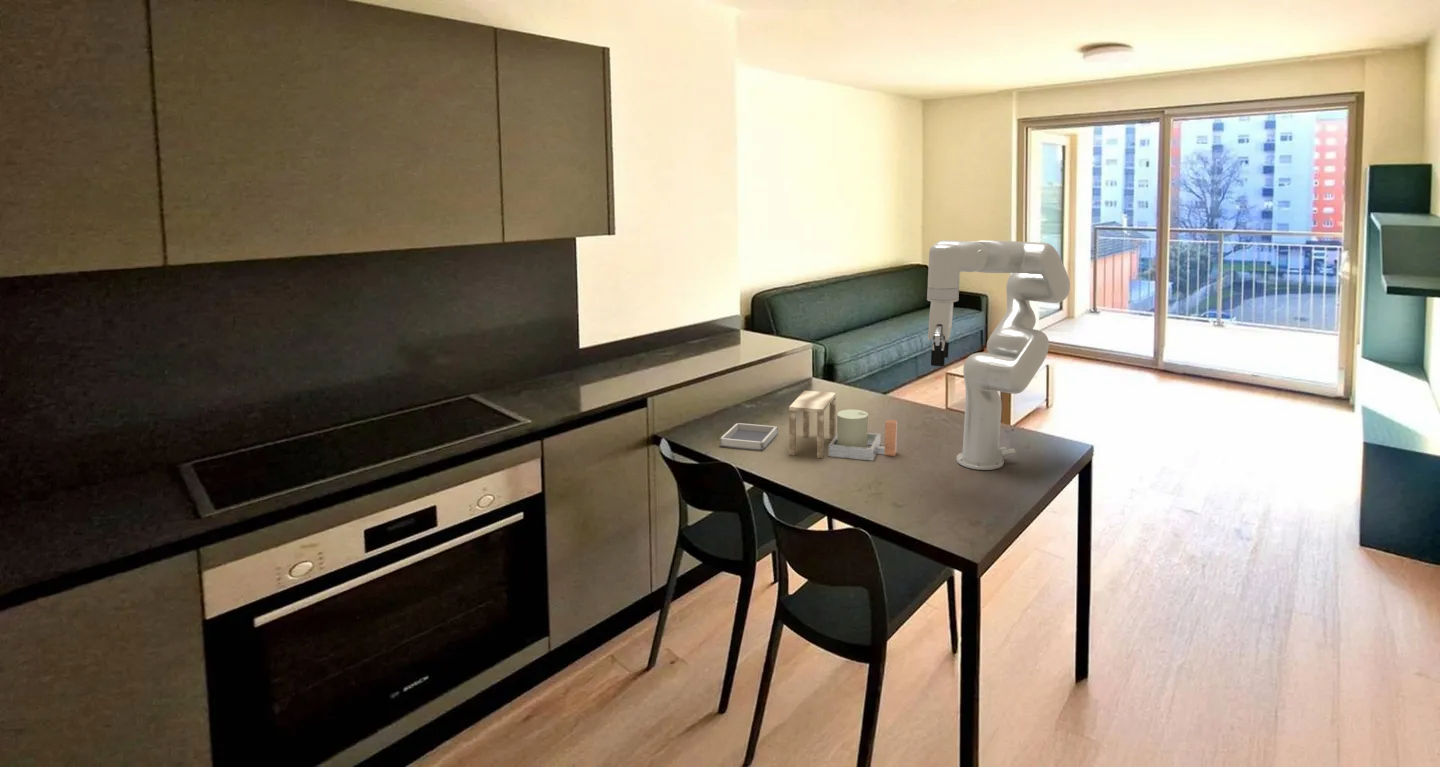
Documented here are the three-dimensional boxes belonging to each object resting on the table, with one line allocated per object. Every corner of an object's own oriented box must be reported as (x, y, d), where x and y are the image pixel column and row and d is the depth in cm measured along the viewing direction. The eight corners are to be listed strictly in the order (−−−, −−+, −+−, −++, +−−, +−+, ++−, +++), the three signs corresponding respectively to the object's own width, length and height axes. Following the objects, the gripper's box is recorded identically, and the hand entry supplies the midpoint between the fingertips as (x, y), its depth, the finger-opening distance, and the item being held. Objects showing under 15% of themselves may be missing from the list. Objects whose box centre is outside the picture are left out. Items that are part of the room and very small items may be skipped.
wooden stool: (835, 438, 233) (835, 392, 229) (822, 458, 217) (822, 409, 213) (804, 435, 237) (804, 390, 233) (789, 455, 221) (789, 406, 217)
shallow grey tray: (898, 446, 225) (899, 415, 222) (892, 462, 212) (893, 429, 209) (838, 441, 231) (838, 410, 228) (828, 456, 218) (828, 424, 216)
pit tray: (777, 434, 239) (777, 426, 238) (763, 451, 224) (762, 442, 224) (736, 430, 244) (736, 422, 243) (719, 446, 229) (719, 438, 229)
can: (869, 455, 218) (870, 416, 215) (838, 456, 218) (838, 417, 215) (865, 444, 227) (865, 407, 224) (834, 445, 227) (835, 408, 224)
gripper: (931, 289, 193) (928, 353, 198) (923, 299, 178) (920, 368, 182) (961, 290, 191) (957, 355, 195) (955, 300, 175) (951, 370, 180)
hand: (939, 361), depth 189 cm, fingers open, 9 cm apart
